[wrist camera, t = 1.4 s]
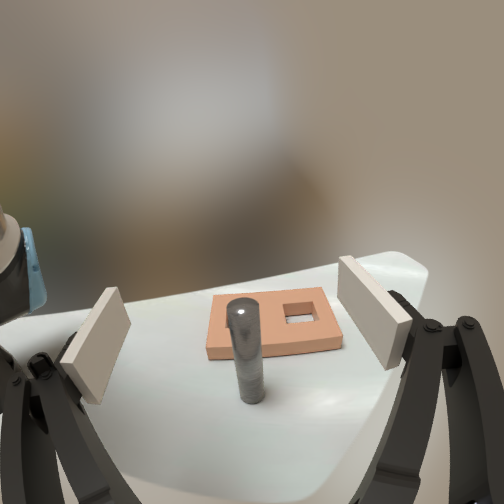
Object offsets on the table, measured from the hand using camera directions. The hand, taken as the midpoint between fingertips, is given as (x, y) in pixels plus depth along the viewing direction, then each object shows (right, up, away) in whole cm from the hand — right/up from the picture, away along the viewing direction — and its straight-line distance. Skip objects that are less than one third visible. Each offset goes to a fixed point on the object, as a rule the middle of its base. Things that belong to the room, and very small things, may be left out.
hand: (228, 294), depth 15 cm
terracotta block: (+4, -9, +27) cm, 29 cm away
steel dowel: (+1, -15, +15) cm, 22 cm away
